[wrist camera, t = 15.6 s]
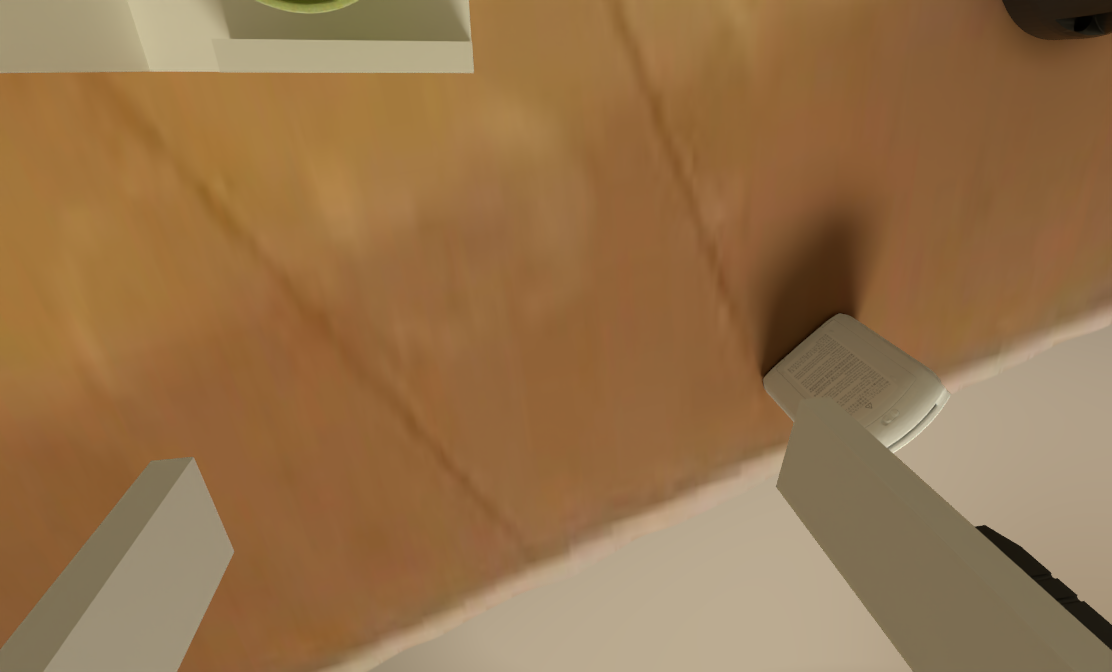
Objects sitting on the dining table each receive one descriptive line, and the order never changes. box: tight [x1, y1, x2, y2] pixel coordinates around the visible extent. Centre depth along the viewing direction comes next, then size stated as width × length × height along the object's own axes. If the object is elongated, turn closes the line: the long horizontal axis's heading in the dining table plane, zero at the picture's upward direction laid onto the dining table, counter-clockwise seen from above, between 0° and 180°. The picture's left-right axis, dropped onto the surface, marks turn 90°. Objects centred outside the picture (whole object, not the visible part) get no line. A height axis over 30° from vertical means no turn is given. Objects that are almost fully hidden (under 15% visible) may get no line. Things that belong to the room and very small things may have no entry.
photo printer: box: [763, 313, 951, 453], centre depth 43 cm, size 10×4×12 cm, turn 138°
